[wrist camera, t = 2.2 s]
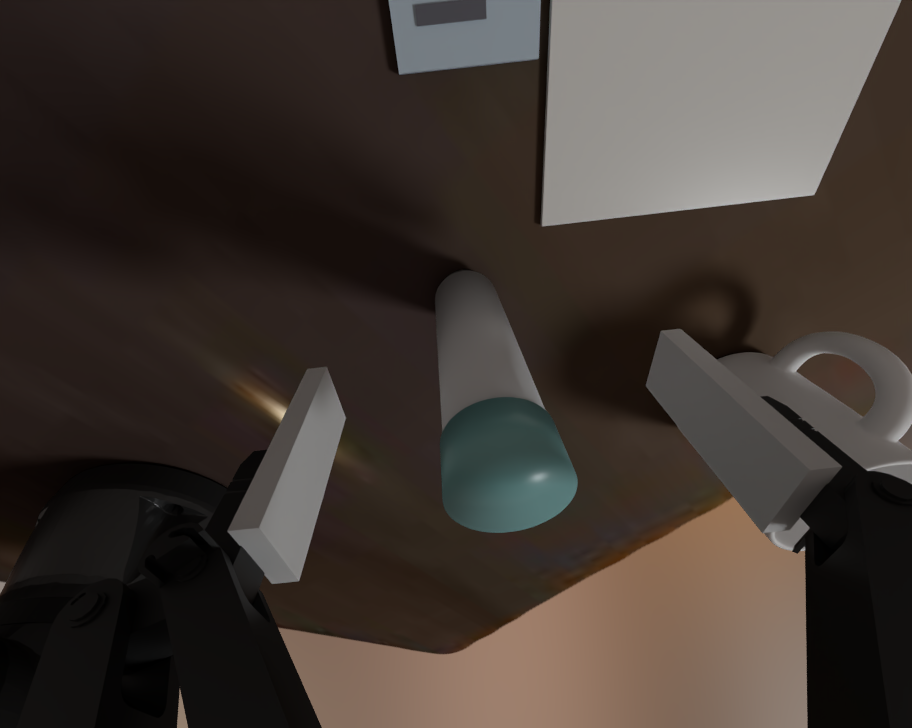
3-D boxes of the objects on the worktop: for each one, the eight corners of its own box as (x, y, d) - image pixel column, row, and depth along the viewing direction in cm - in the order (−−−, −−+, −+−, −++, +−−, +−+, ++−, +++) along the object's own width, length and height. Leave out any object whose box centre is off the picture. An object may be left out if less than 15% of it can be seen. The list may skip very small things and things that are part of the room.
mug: (740, 291, 23) (927, 392, 14) (842, 310, 24) (1067, 412, 16) (648, 425, 29) (739, 549, 21) (732, 434, 31) (849, 553, 22)
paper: (540, 225, 19) (542, 226, 19) (557, -174, 12) (560, -180, 12) (809, 194, 20) (814, 194, 19) (991, -220, 12) (1003, -227, 12)
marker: (436, 324, 22) (449, 539, 11) (428, 266, 20) (434, 458, 9) (496, 317, 23) (570, 524, 11) (494, 259, 20) (584, 440, 9)
